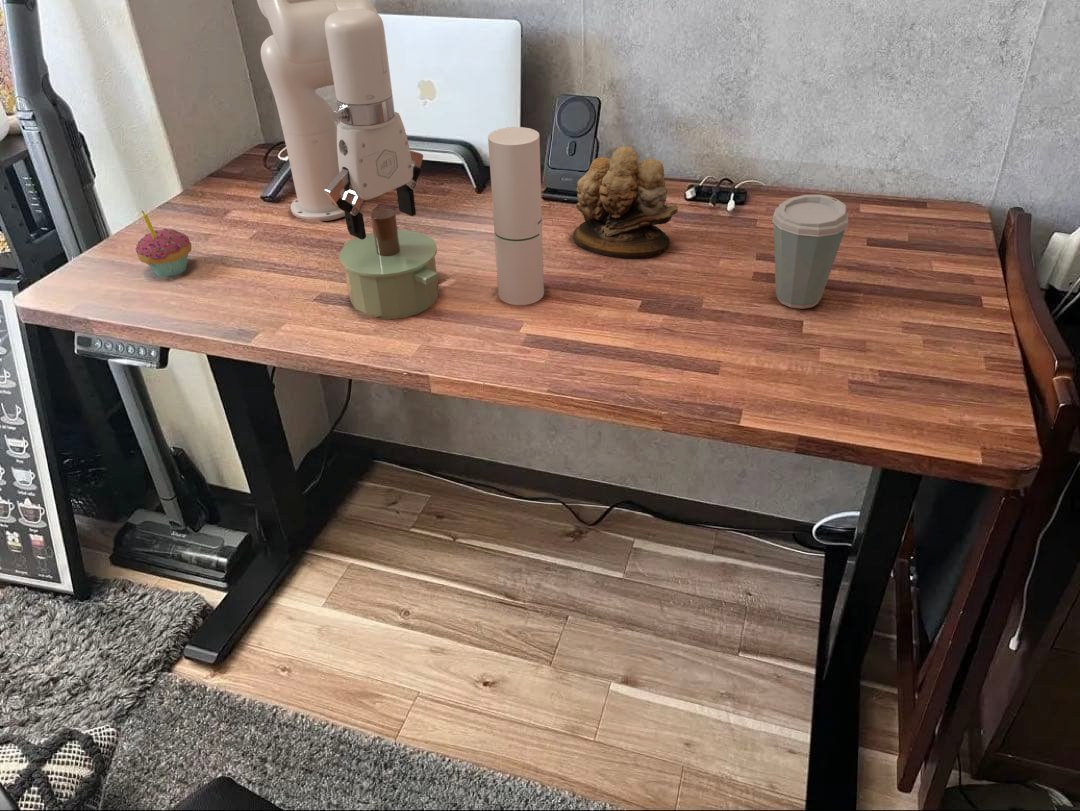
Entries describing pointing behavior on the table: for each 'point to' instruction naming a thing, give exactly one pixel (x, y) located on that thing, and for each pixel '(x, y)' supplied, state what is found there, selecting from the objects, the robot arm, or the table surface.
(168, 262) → the sprinkled cake with candle
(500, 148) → the cylindrical container
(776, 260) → the disposable coffee cup
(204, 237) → the table surface
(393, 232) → the lid
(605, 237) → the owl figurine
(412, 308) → the pot
